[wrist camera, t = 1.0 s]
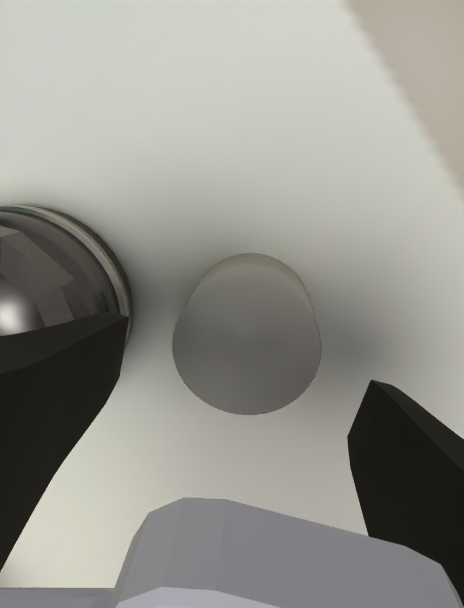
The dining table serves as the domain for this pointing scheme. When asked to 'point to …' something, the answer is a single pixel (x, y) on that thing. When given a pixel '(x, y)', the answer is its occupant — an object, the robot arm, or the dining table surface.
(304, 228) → the dining table surface
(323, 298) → the dining table surface
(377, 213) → the dining table surface
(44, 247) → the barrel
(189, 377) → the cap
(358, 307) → the dining table surface
